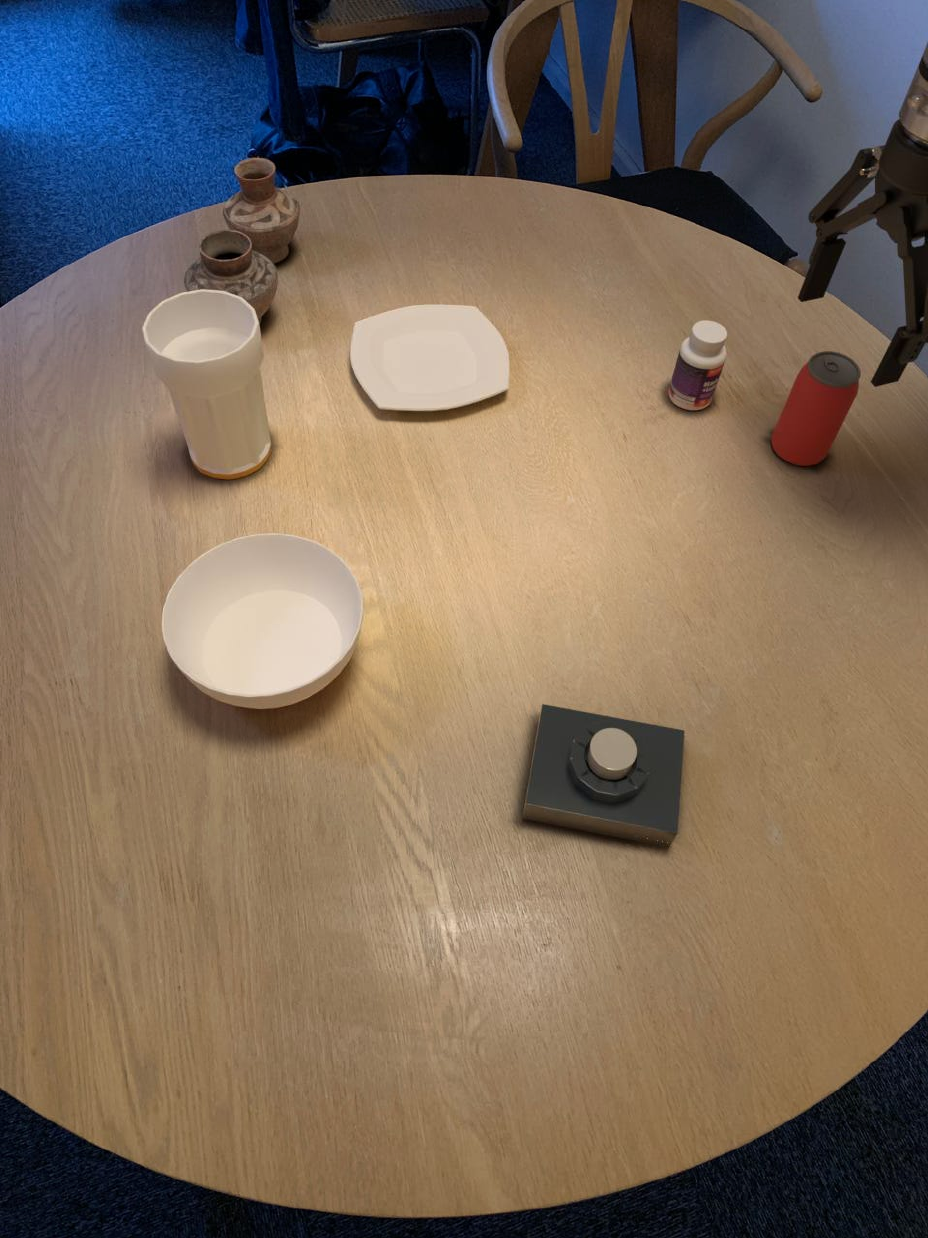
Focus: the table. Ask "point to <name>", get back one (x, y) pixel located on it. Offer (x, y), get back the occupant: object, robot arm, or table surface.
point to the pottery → (248, 239)
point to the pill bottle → (699, 366)
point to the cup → (213, 378)
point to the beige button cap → (611, 754)
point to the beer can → (816, 408)
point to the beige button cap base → (597, 804)
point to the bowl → (263, 620)
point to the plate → (429, 358)
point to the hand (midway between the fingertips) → (845, 338)
